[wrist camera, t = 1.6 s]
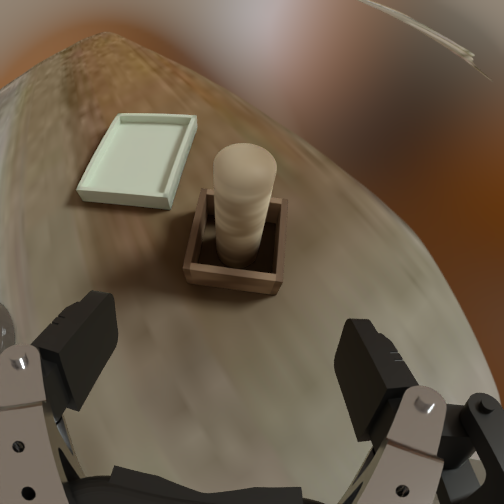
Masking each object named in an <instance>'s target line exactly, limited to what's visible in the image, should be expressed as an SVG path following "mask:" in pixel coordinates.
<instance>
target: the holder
mask: <svg viewBox="0 0 504 504" xmlns="http://www.w3.org/2000/svg"><path fill="white" fill-rule="evenodd" d="M287 211H288V200H287V199H280V198H273V197H270V202H269V206H268V211H267V215H266V219H265V222H269V223H276V228H275V240H274V252H273V263H272V274H271V273H263V272H256V271H248V270H241V269H233V268H226V267H219V266H211V265H204V264H198V259H199V254H200V250H201V245H202V240H203V235H204V230H205V226H206V221H207V216H208V214H209V215H215V204H214V190H212V189H203V188H201V192H200V196H199V200H198V204H197V208H196V212H195V216H194V220H193V224H192V228H191V233H190V237H189V241H188V246H187V250H186V255H185V259H184V264H183V271H184V274H185V277H186V280H187V283H190V284H197V285H204V286H211V287H218V288H225V289H232V290H240V291H247V292H255V293H263V294H271V295H276V294H277V293H278V291H279V289H280V287H281V285H282V283H283V273H284V259H285V244H286V228H287Z"/></svg>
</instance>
